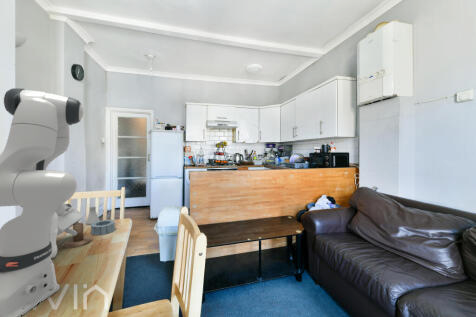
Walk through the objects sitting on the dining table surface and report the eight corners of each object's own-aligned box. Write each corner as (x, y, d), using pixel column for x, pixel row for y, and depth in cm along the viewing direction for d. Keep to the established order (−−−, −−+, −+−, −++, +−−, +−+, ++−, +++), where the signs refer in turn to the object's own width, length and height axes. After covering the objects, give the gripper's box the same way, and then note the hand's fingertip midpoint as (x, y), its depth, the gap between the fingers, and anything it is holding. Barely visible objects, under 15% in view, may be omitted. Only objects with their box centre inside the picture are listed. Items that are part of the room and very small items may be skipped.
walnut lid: (83, 247, 93) (83, 228, 93) (57, 248, 92) (57, 228, 92) (96, 237, 104) (96, 220, 104) (73, 238, 103) (73, 220, 103)
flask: (92, 225, 120) (92, 209, 119) (82, 224, 121) (82, 208, 121) (102, 221, 127) (102, 206, 126) (93, 220, 128) (93, 205, 128)
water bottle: (45, 264, 79) (46, 202, 78) (27, 263, 79) (28, 200, 78) (61, 255, 86) (63, 197, 85) (45, 254, 87) (46, 196, 86)
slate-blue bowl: (108, 235, 108) (108, 226, 107) (86, 235, 106) (86, 227, 106) (118, 227, 118) (118, 219, 118) (98, 227, 117) (98, 219, 117)
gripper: (47, 214, 86) (74, 235, 89) (72, 202, 105) (93, 219, 108) (34, 226, 85) (62, 246, 88) (62, 211, 104) (84, 228, 107)
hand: (79, 231), depth 98 cm, fingers open, 5 cm apart
